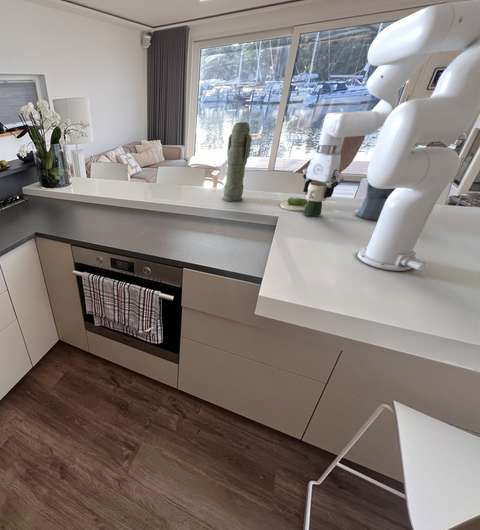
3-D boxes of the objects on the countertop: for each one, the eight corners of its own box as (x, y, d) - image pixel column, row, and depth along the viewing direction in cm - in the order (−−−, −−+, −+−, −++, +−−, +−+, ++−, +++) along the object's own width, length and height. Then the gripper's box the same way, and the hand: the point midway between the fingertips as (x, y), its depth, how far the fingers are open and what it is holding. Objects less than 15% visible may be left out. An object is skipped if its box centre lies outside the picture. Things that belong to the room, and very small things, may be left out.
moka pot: (371, 210, 119) (390, 160, 110) (399, 223, 106) (423, 168, 96) (347, 211, 121) (363, 161, 111) (371, 224, 107) (392, 169, 98)
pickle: (307, 205, 128) (309, 198, 126) (305, 207, 126) (307, 200, 125) (287, 202, 133) (289, 196, 131) (285, 204, 131) (287, 197, 130)
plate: (320, 208, 126) (320, 206, 125) (295, 213, 123) (296, 211, 123) (296, 200, 137) (296, 198, 136) (273, 204, 134) (273, 203, 134)
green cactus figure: (236, 203, 139) (247, 123, 122) (217, 198, 148) (224, 123, 131) (248, 199, 143) (259, 121, 126) (228, 195, 152) (236, 122, 135)
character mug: (310, 210, 125) (318, 179, 118) (327, 214, 119) (337, 182, 113) (295, 215, 120) (302, 184, 114) (312, 220, 115) (321, 188, 108)
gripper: (301, 148, 114) (292, 190, 122) (342, 153, 99) (328, 201, 108) (316, 146, 115) (306, 188, 124) (359, 150, 101) (344, 198, 109)
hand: (316, 194), depth 116 cm, fingers open, 9 cm apart
